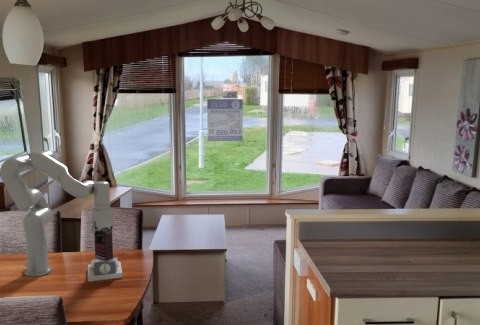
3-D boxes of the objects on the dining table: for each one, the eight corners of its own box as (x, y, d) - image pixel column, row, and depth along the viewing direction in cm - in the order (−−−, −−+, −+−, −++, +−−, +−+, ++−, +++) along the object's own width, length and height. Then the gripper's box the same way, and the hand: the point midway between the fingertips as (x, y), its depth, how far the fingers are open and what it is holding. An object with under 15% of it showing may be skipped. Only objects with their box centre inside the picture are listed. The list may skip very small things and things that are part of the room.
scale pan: (91, 262, 223) (91, 260, 223) (117, 259, 227) (117, 257, 227) (90, 270, 213) (90, 267, 212) (118, 267, 217) (118, 264, 217)
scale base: (88, 269, 224) (87, 253, 223) (120, 265, 229) (120, 250, 228) (87, 281, 209) (87, 265, 207) (122, 277, 214) (121, 261, 212)
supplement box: (113, 259, 219) (112, 229, 217) (105, 262, 215) (104, 231, 213) (102, 256, 224) (101, 226, 222) (94, 258, 220) (93, 228, 218)
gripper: (109, 202, 225) (110, 236, 227) (83, 208, 210) (84, 245, 213) (120, 203, 221) (121, 238, 224) (94, 211, 206) (95, 247, 209)
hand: (103, 241), depth 218 cm, fingers closed on supplement box, 5 cm apart
